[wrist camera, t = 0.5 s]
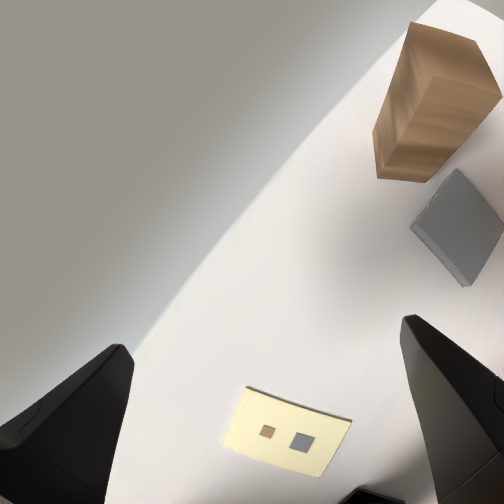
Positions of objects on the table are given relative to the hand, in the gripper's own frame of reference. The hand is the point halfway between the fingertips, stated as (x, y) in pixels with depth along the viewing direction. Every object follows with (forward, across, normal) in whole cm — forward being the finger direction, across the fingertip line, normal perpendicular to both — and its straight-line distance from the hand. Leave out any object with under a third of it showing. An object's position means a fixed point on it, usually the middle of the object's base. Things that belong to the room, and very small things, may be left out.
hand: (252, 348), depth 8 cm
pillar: (+19, -11, -1) cm, 22 cm away
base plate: (+15, -16, +5) cm, 22 cm away
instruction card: (+5, +1, +16) cm, 17 cm away
